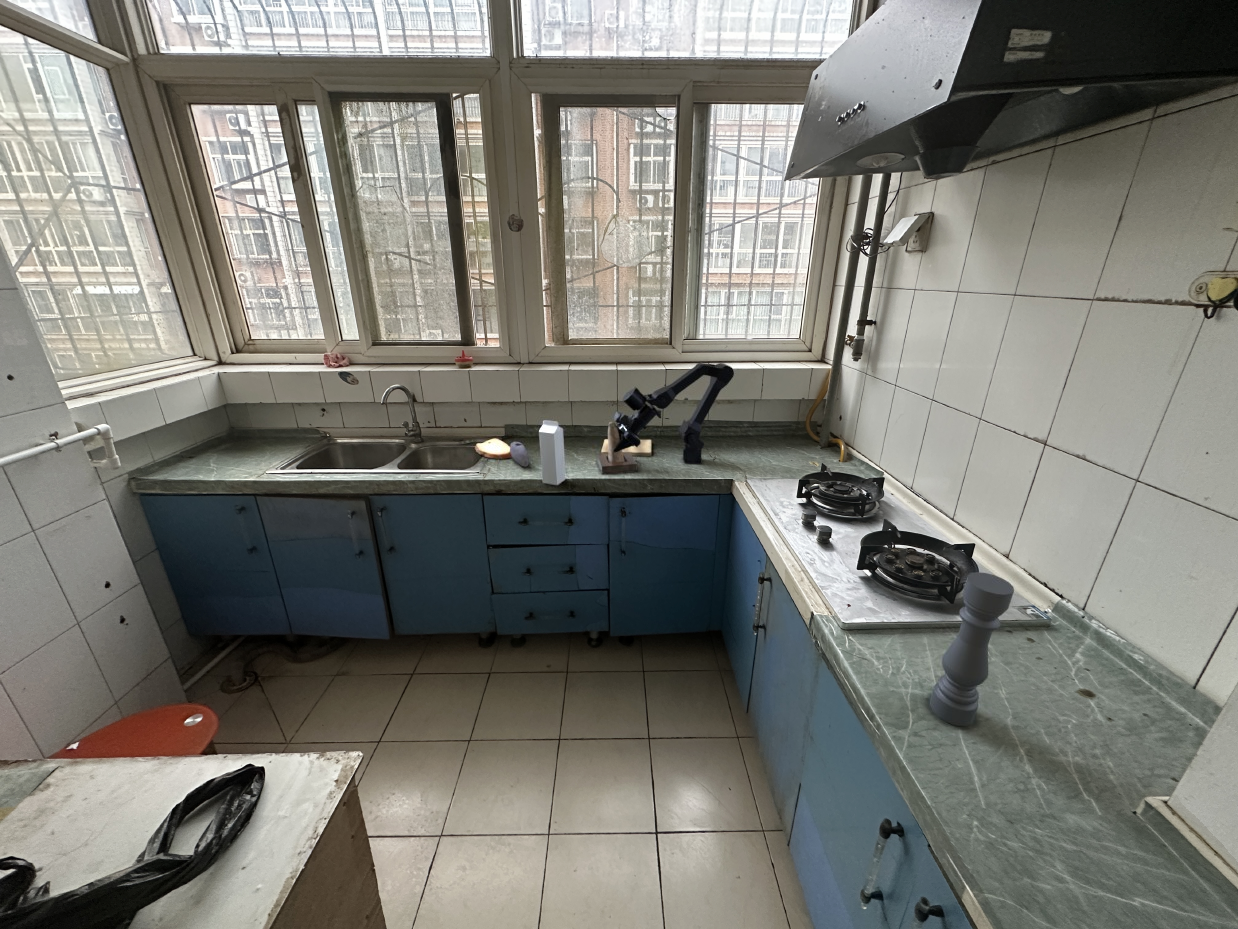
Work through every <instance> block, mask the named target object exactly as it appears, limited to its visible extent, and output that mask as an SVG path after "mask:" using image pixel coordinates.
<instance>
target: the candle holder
mask: <svg viewBox="0 0 1238 929" xmlns="http://www.w3.org/2000/svg"><path fill="white" fill-rule="evenodd" d="M1014 593H1015V588H1014V586H1013V584H1011V583H1010V582H1009V581H1008V580H1006V579H1004V578H1003V577H1000V576H997V575H995V574H992V573H989V572H988V573H987V572H982V571H981V572H980V571H979V572H978V571H976V572H970V573H969V574H967V576H966V580H965V584H964V587H963V590H962V599H963V603H964V605H965V606H962V607H961V608H960V609H959V612H958V613H959V618H960V619H961V623H960V627H959V631H958V633H957V635H956V636H955V638H954V639H953V641H952V642H951V643H950V645H949V646H948V648H947V649H946V651H945V652H944V653H943V654H942V658H941V666H942V669H943V671H944V674H943V675H940V677H939V678H937V682H936V683H935V684H934V685H933V688H932V692H931V695H930V699H929V707H930V709H931V711H932V712H933V713H934V714H935V715H936V717H937V718H939V719H941V720H942V721H944V722H945V723H947V724H949V725H953V726H955V727H967V726H971V725H972V724H973V723H974V720H975V717H976V715H977V711H978V708H979V699H980V697H979V696H980V695H979V690H978V689H977V687H978V686H980V685H982V684H983V683H984V682H985V681H986V680H987V679H988V677H989V643H990V641H991V638H992V634H993V632H994V631H997V630H999V629H1000V627H1001V626H1002V622H1001V619H999V617H1002V615H1004V613H1005V612H1007V611H1008V610H1009V608H1010V605H1011V603H1012V602H1011V601H1012V598H1013V596H1014Z"/></svg>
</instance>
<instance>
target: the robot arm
mask: <svg viewBox="0 0 1238 929" xmlns="http://www.w3.org/2000/svg"><path fill="white" fill-rule="evenodd" d="M704 376H707V377H709V378H710V379H709V384H708V386H707V388H706V390H705V392H704V393H703V395H702V398H701V399H700V400H699V402H698V404H697V406H696V408H695V410H694V412H693V413H692V415H691V417H690V418H689V419H688V420H685V419H683V421H682V423H681V425H680V427H678V429H679V431H678V435H679V438H680V439H681V440H682V441H683V443H684V447H683V448H682V461H684V462H683V463H684V464H700V465H701V464H703V461H702V451H703V450H702V449H704V446H705V442H703V441H702V440H701V439H700V435H701V433H702V426H703V423H704V421H705V420H706V417H707V416H708V414H709V412H710V411H711V409H712V406H713V405H714V403H715V401H716V399H717V397H718V395H719V394H720V392H721V391H722V390H723V389H724V388H725V387H727V385H729V384H730V382H731V381H732V379H733V378H734V376H735V371H734V368H733V367H732V366H731V365H728V364H726V363H724V362H718V363H716V364H714V363H703V362H697V363H696V364H695V366H693V367H691V369H690V370H688V371H686V372H685V373H684V374H682V375H681V376H679V377H678V378H677V379H675V380H674V381H673V382H672V383H670V384H668V385H665V386H662V387H660V388H658V389H656V390H655V391H653V392H652V393H648V394H647V393H646V394H643V393H642V392H641V391H640V389H639V388H637V387H636V386H634V387H633V388H632V389H630V390H629V391H627V392H626V393H625V394H624V395H623V397H622V399H621V400H622V402H623V403H625V404H626V405H627V407H628V408H629V409H630V410H632V411H633V412H635V411H637V412H636V413H635V414H634V413H633V414H632V413H631V414H630V415H628V414H625V413H623V412H621V411H618V410H617V411H616V412H615V414H614V416H613V420H614V423H616V427H617V430H618V433H619V440H620V441H619V443H618V444H617V445H616V447H615V448H614V450H613V451H614V452H618V451H620V450H623V449H626V448H629V447H632V446H635V447H638V446H639V445H640V444H641V440H642V439H640V437H639V436H640V435H639V433H640V432H641V431H642V430H646V429H647V425H648V424H649V423H651V421H652V420H653V419H654V418H655V417H658V419H662V410H664V409H666V408H668V407H669V406H670V405H671V404H672V403H673V402H674V400H675V399H676V397H677V396H678V395H679V394H680V393H682V392H683V391H684V390H685V389H687V388H688V387H690V386H691V385H693V384H694V383H695V382H697V381H698V380H700V379H701V378H702V377H704ZM648 404H649V405H648Z"/></svg>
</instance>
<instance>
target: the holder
mask: <svg viewBox="0 0 1238 929" xmlns="http://www.w3.org/2000/svg"><path fill="white" fill-rule="evenodd" d="M623 457H624V461H625V462H616V463H608V459H609V458H608V454H601V453H600V454H596V462H597V465H598V467H599V470H600V472H601V474H602V475H609V474H622V473H634V472H638V463H637V461H636V460H635V458H634V456H632V455H631V453H630V452H626V453H623Z"/></svg>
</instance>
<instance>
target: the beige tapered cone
mask: <svg viewBox="0 0 1238 929" xmlns="http://www.w3.org/2000/svg"><path fill="white" fill-rule="evenodd" d="M607 439H608V445H609V448H608V458H609V459H608V463H616V462H625V461H624V457H623V452H622V450H620V451H618V452H614V451H613V450H614V448H615V447H616V445H617V444H618V443H619V441H620V440H619V433H618V430H617V424H616V422H613V421H609V423H608V428H607Z"/></svg>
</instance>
